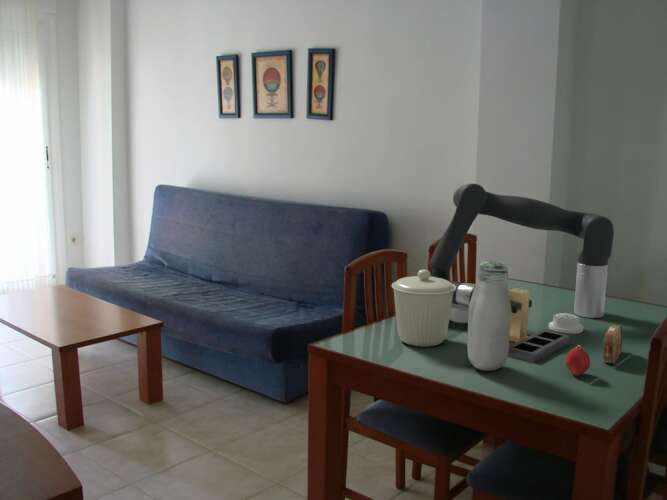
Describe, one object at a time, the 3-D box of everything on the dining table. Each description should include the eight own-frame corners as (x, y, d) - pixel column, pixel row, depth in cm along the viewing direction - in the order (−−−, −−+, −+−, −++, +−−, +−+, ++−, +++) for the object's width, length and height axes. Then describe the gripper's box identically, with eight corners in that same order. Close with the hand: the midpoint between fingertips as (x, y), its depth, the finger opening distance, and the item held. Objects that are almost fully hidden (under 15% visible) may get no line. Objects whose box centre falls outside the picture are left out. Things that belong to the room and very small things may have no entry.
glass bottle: (483, 378, 156) (488, 266, 151) (459, 364, 166) (463, 258, 161) (515, 372, 160) (522, 263, 155) (490, 359, 169) (495, 255, 164)
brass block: (505, 337, 187) (508, 290, 184) (512, 333, 190) (515, 288, 188) (519, 340, 184) (522, 293, 181) (526, 337, 187) (529, 290, 185)
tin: (613, 368, 164) (615, 337, 162) (600, 366, 165) (602, 334, 164) (622, 352, 176) (624, 322, 175) (609, 349, 178) (612, 320, 176)
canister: (416, 328, 197) (418, 260, 193) (466, 341, 184) (469, 270, 180) (377, 341, 184) (378, 269, 180) (427, 356, 172) (430, 280, 168)
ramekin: (478, 315, 211) (478, 299, 210) (483, 325, 200) (484, 308, 199) (443, 314, 212) (444, 298, 211) (447, 324, 201) (447, 308, 200)
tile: (499, 338, 187) (499, 337, 187) (511, 333, 192) (511, 332, 192) (521, 344, 182) (521, 342, 182) (533, 338, 187) (533, 337, 187)
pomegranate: (560, 371, 161) (562, 341, 160) (582, 371, 162) (584, 340, 160) (570, 380, 156) (572, 349, 154) (593, 380, 156) (595, 348, 155)
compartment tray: (533, 363, 167) (533, 354, 166) (505, 356, 172) (505, 347, 172) (569, 344, 182) (569, 335, 182) (542, 337, 188) (543, 329, 187)
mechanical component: (550, 333, 193) (585, 335, 191) (551, 319, 192) (587, 321, 190) (546, 324, 202) (579, 326, 200) (547, 310, 202) (580, 312, 200)
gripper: (462, 288, 189) (513, 298, 178) (487, 280, 199) (536, 289, 188) (461, 313, 190) (511, 324, 179) (486, 304, 201) (534, 314, 190)
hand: (524, 306), depth 184 cm, fingers open, 8 cm apart
